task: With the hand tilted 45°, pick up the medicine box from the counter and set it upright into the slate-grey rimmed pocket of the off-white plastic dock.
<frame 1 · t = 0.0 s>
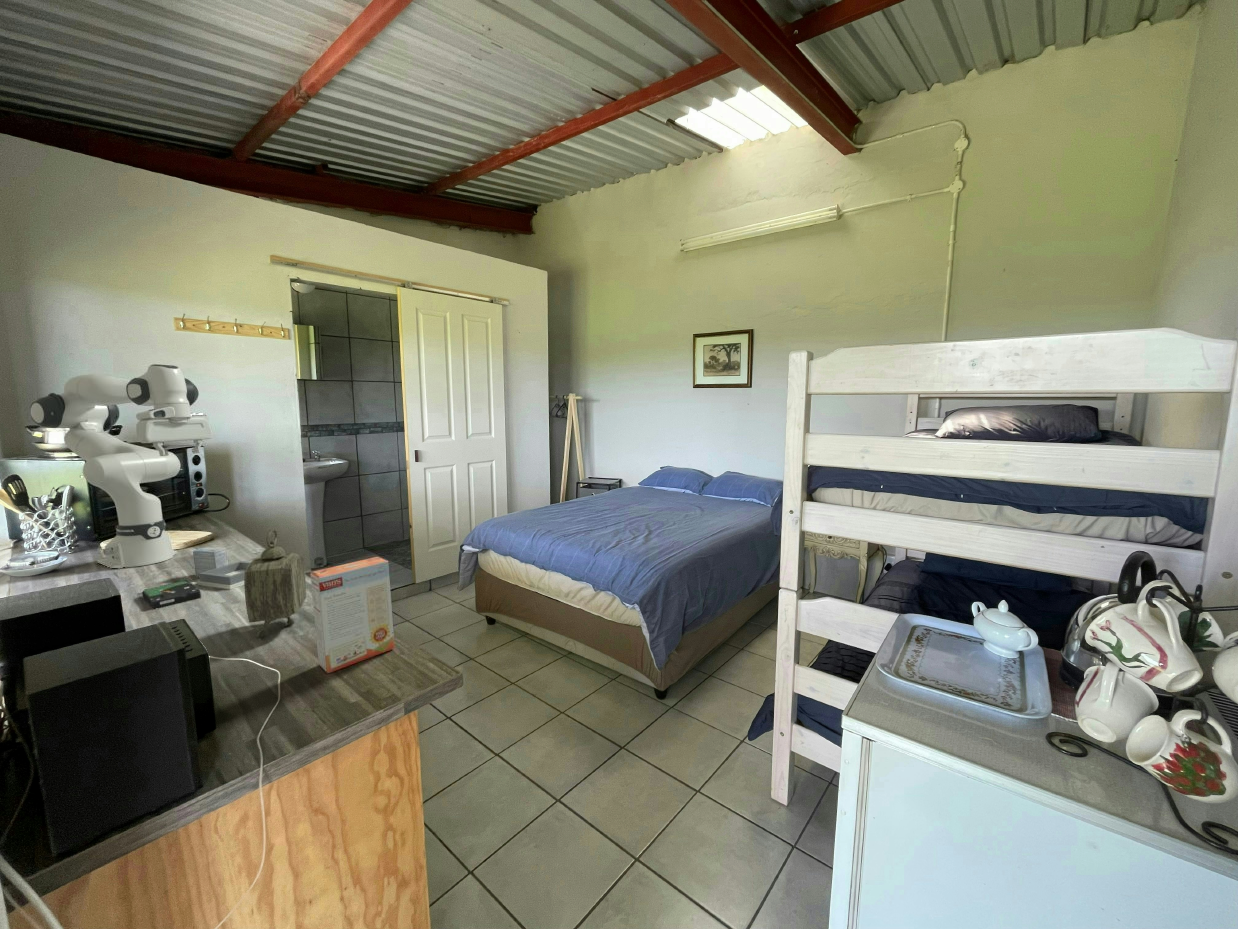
hand: (180, 454, 162), 39 cm above the counter, tool pointing down, fingers open, 8 cm apart
cracker box: (357, 657, 107), on the counter
dock: (236, 579, 154), on the counter
disk drive: (172, 599, 140), on the counter
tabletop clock: (281, 627, 121), on the counter
medicine box: (212, 575, 159), on the counter
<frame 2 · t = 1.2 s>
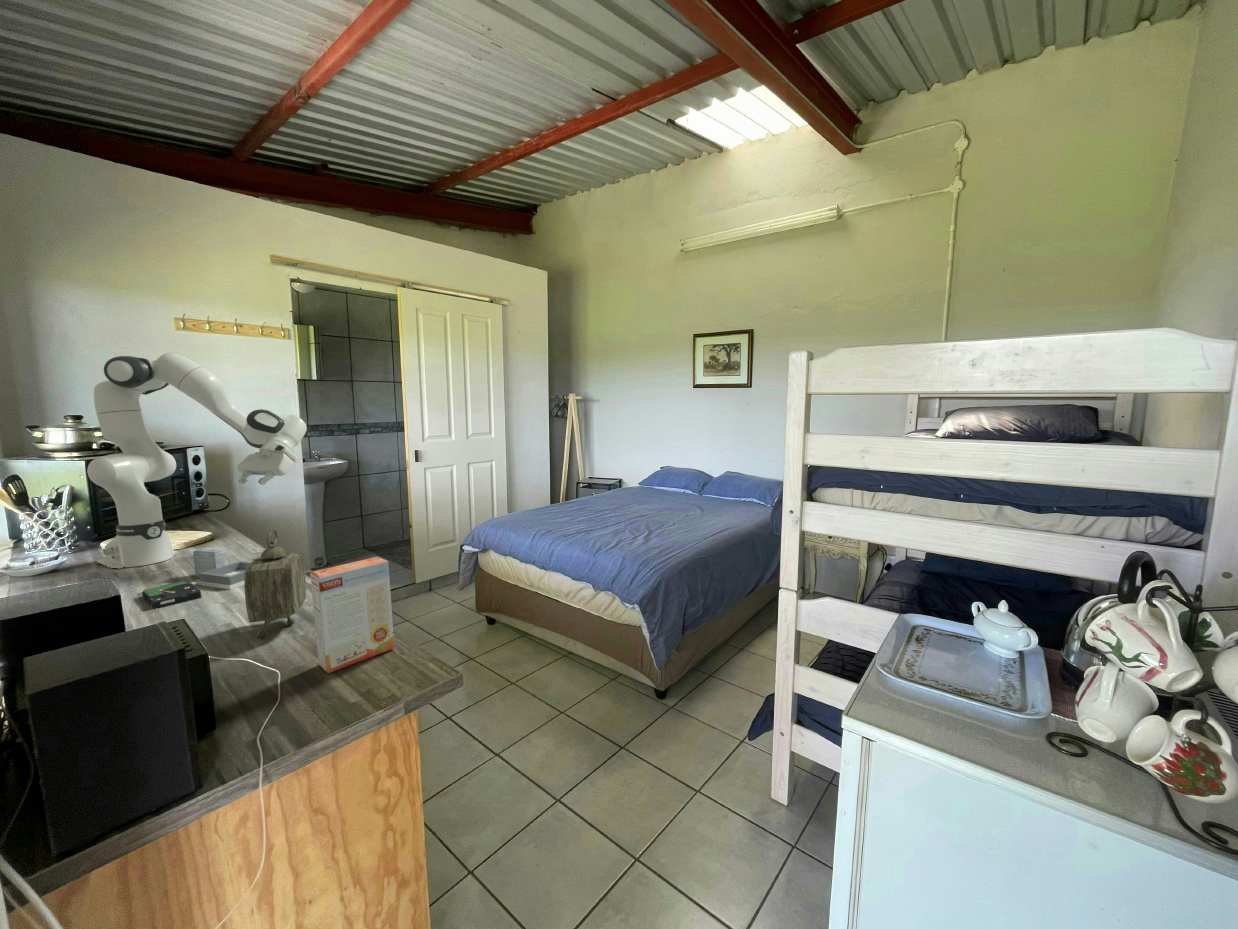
hand: (250, 483, 170), 28 cm above the counter, tool tilted 45°, fingers open, 8 cm apart
nothing on the counter moved.
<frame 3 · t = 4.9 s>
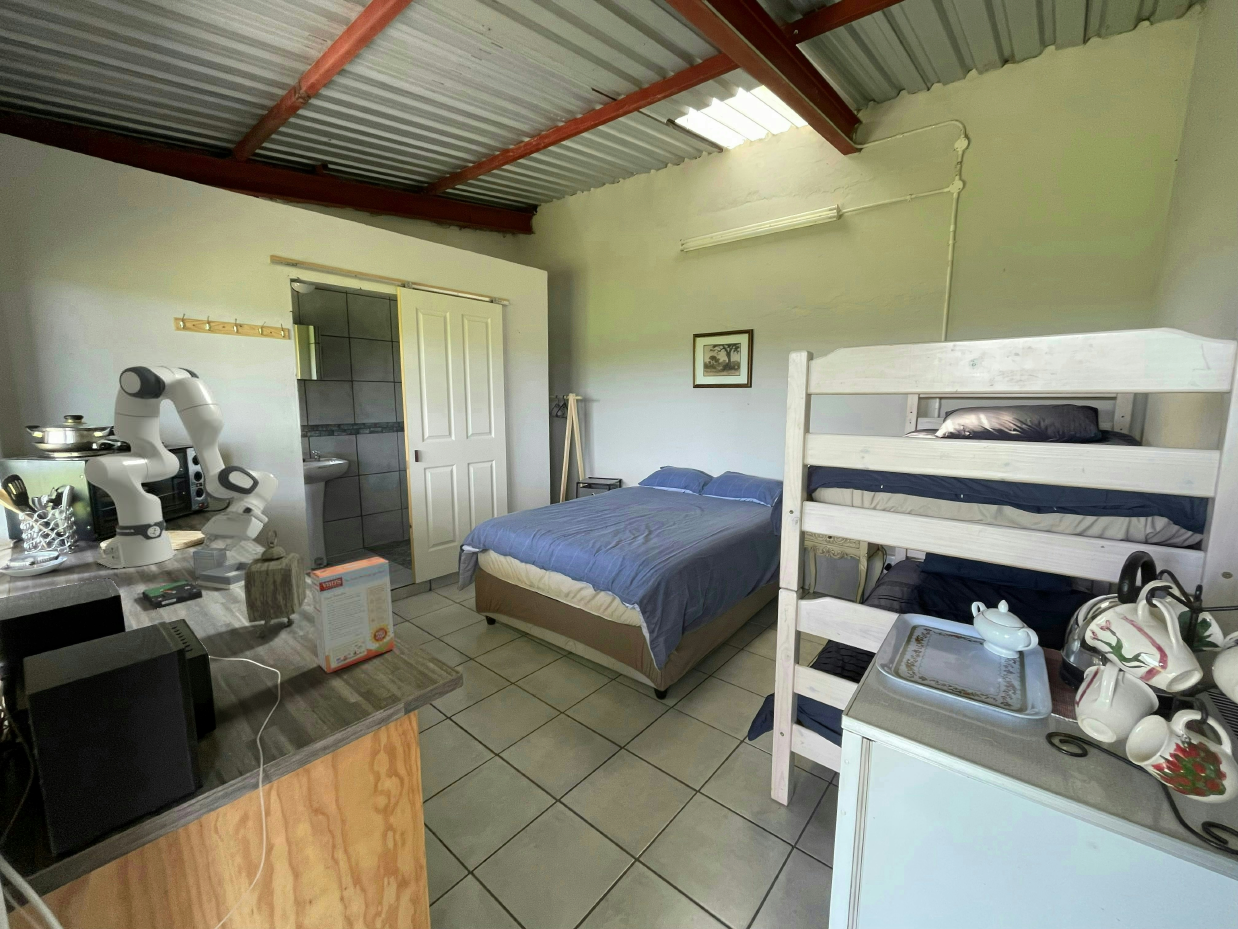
hand: (215, 549, 159), 8 cm above the counter, tool tilted 45°, fingers open, 8 cm apart
medicine box: (212, 575, 158), on the counter, touching gripper
everything else where it was.
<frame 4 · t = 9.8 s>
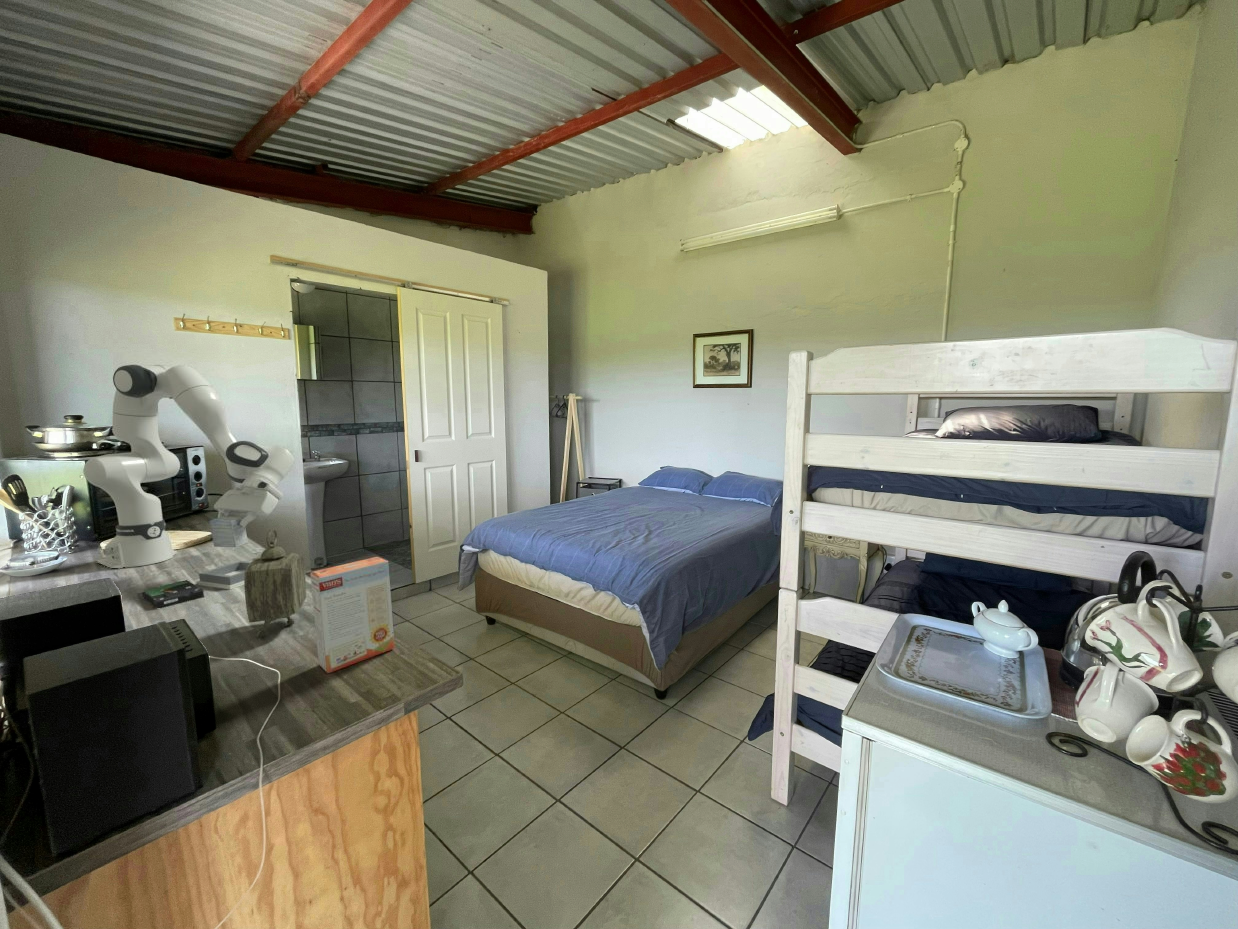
hand: (229, 524, 152), 18 cm above the counter, tool tilted 45°, fingers closed on medicine box, 8 cm apart
medicine box: (231, 545, 152), point 11 cm above the counter, touching gripper
everything else where it was.
when the fingers open (9 cm above the counter, at t = 12.5 s): medicine box drops 1 cm, resting on dock.
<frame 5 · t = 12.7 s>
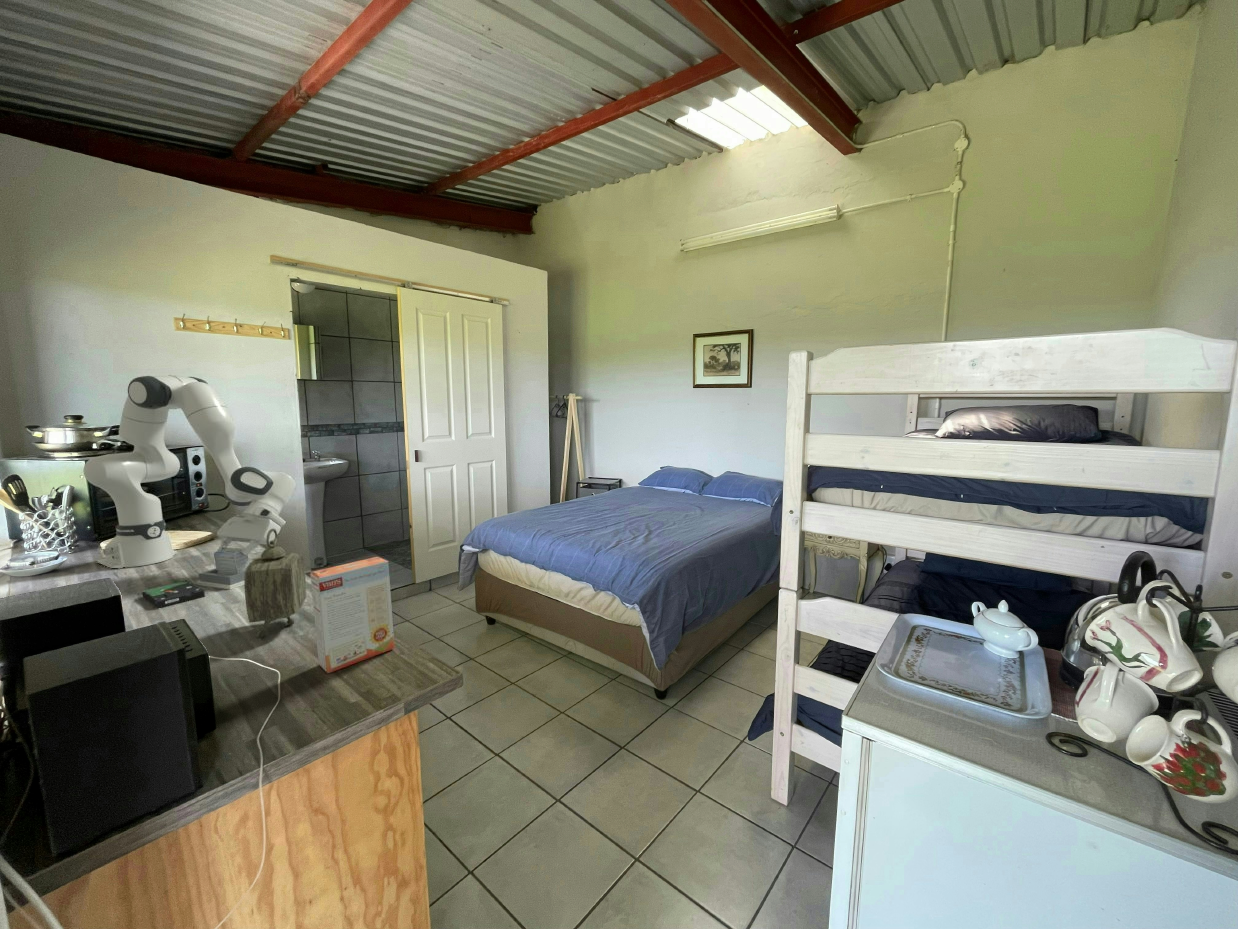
hand: (232, 553, 153), 9 cm above the counter, tool tilted 45°, fingers open, 8 cm apart
medicine box: (234, 576, 154), point 1 cm above the counter, touching dock, gripper
everything else where it was.
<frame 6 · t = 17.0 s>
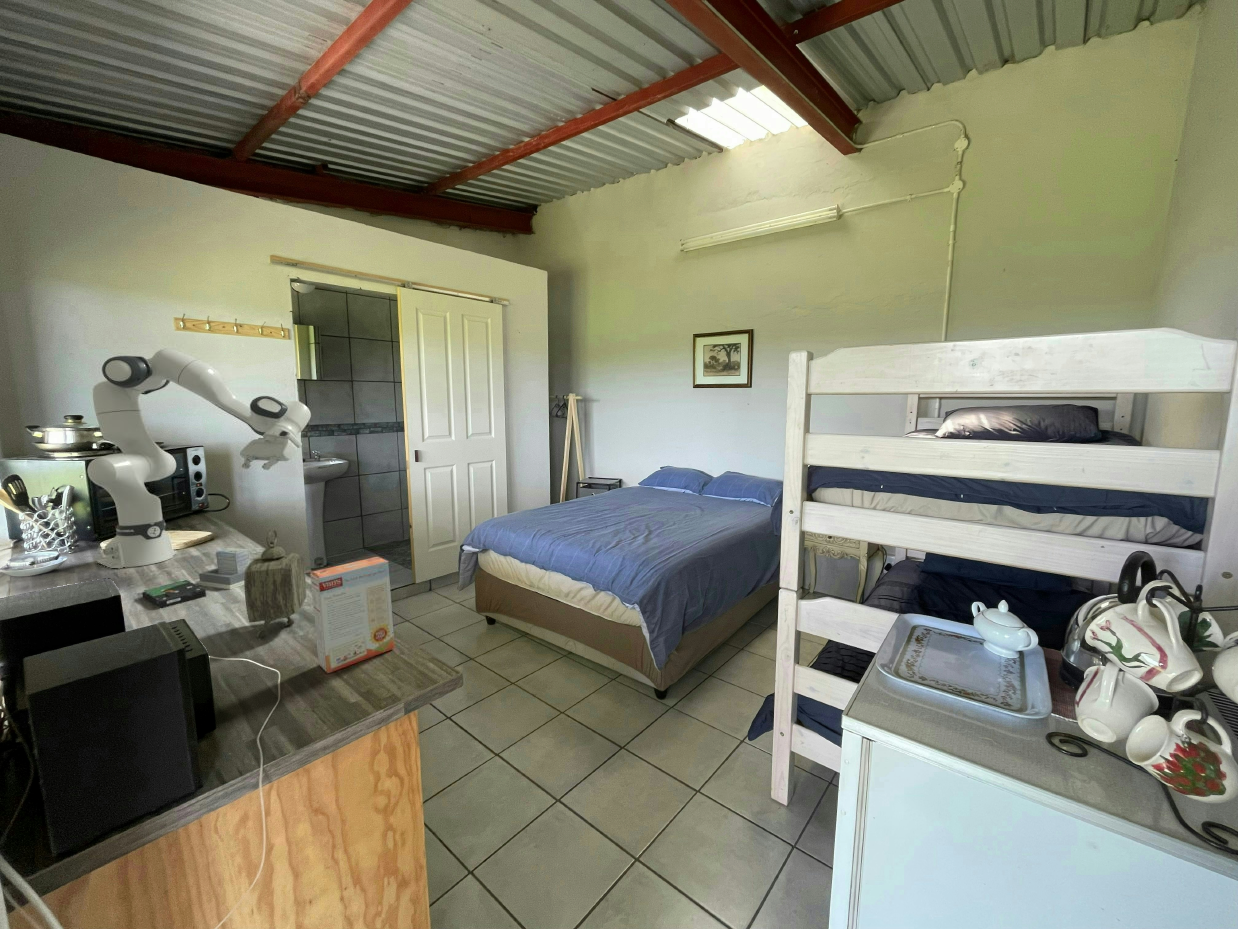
hand: (254, 468, 169), 33 cm above the counter, tool tilted 45°, fingers open, 8 cm apart
medicine box: (235, 577, 154), point 1 cm above the counter, touching dock
everything else where it was.
at the end: medicine box 0.4 cm off-centre on the dock, point 0.8 cm above the dock's base; medicine box tilted 0°; the gripper is holding nothing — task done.
